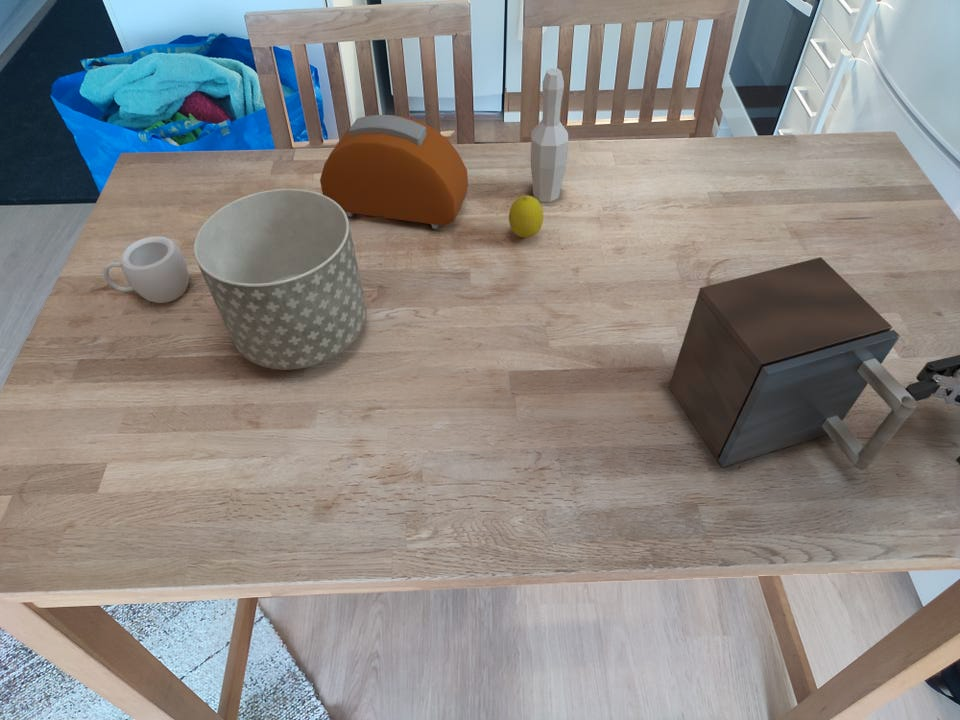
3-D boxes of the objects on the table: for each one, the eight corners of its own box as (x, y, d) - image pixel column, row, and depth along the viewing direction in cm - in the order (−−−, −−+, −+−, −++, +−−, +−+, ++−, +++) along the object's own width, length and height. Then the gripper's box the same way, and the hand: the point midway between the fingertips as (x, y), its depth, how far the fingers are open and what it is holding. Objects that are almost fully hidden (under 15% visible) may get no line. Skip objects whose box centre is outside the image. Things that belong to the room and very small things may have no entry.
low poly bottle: (523, 187, 118) (527, 65, 101) (556, 181, 119) (566, 59, 102) (534, 207, 114) (541, 84, 97) (569, 201, 115) (581, 78, 98)
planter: (221, 384, 89) (172, 285, 76) (254, 288, 102) (216, 188, 88) (361, 383, 89) (336, 284, 75) (376, 287, 101) (358, 187, 88)
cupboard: (827, 425, 83) (892, 326, 70) (716, 459, 80) (761, 364, 67) (772, 357, 91) (821, 256, 77) (668, 386, 88) (700, 287, 74)
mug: (199, 270, 105) (181, 230, 99) (191, 307, 99) (171, 267, 93) (122, 277, 104) (99, 238, 98) (109, 315, 99) (84, 276, 93)
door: (871, 477, 78) (949, 383, 65) (754, 516, 75) (810, 426, 62) (829, 425, 83) (893, 329, 70) (717, 460, 80) (762, 366, 67)
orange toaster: (470, 203, 115) (466, 114, 102) (456, 235, 109) (451, 144, 97) (345, 186, 119) (327, 98, 107) (325, 215, 114) (304, 126, 101)
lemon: (514, 224, 111) (515, 183, 105) (545, 230, 110) (548, 189, 104) (504, 243, 108) (504, 203, 102) (536, 250, 106) (539, 210, 100)
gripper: (1017, 324, 77) (902, 358, 74) (1130, 418, 68) (1004, 461, 65) (981, 366, 82) (873, 399, 79) (1081, 458, 73) (963, 499, 70)
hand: (932, 427), depth 72 cm, fingers open, 8 cm apart
